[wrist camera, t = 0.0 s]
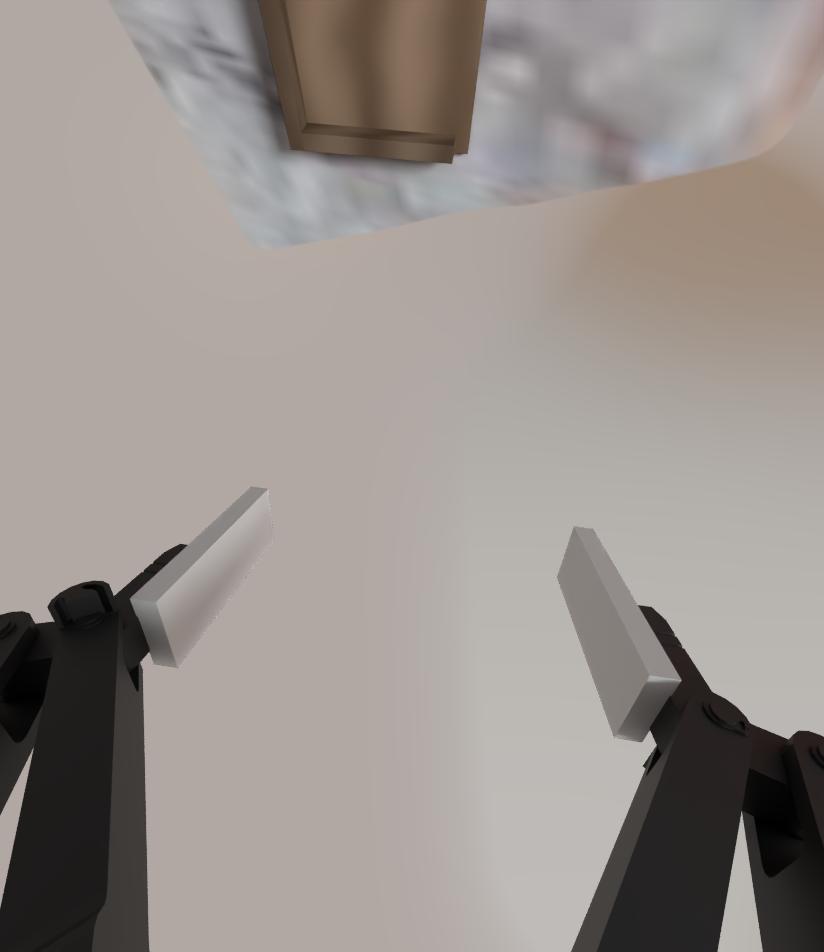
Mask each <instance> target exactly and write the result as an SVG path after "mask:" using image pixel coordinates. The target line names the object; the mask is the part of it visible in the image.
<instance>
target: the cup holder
mask: <svg viewBox="0 0 824 952" xmlns="http://www.w3.org/2000/svg"><path fill="white" fill-rule="evenodd" d="M258 1H259V6H260V11H261V15H262V20H263V24H264V29H265V33H266V38H267V42H268V47H269V51H270V56H271V61H272V65H273V70H274V74H275V79H276V83H277V88H278V92H279V97H280V101H281V106H282V110H283V115H284V120H285V124H286V129H287V133H288V138H289V142H290V147H291V150H302V151H313V152H325V153H336V154H347V155H358V156H370V157H381V158H392V159H403V160H415V161H426V162H437V163H448V164H452V161H453V156H454V153H461V154H468V146H469V138H470V130H471V122H472V114H473V106H474V98H475V90H476V82H477V74H478V66H479V57H480V49H481V41H482V33H483V25H484V17H485V9H486V1H487V0H258Z"/></svg>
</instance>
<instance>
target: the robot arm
mask: <svg viewBox="0 0 824 952" xmlns="http://www.w3.org/2000/svg"><path fill="white" fill-rule="evenodd" d="M273 541H274V533H273V525H272V517H271V509H270V499H269V491H268V489H265V488H257V487H251V488H250V489H249V490H247V491H246V492H245V493H244V494H243V495H242V496H241V497H240V498H239V499H238V500H236V501H235V502H234V503H233V504H232V505H231V506H230V507H229V508H228V509H227V510H226V511H225V512H223V513H222V514H221V515H220V516H219V517H218V518H217V519H216V520H215V521H214V522H213V523H211V524H210V525H209V526H208V527H207V528H206V529H205V530H204V531H203V532H202V533H201V534H199V536H197V537H196V538H195V539H194V540H193V541H192V542H191V543H190V544H189V545H184V544H179V545H177V546H175V547H173V548H172V549H170V550H168V551H166V552H164V553H163V554H162V555H161V556H160V557H159V558H157V559H156V560H155V561H154V562H153V564H151V565H149V566H148V567H147V568H146V569H145V570H144V572H141V573H140V574H139V575H138V576H137V577H136V578H134V579H133V580H132V581H131V582H130V583H129V584H128V585H126V586H125V587H124V588H123V589H122V590H121V591H119V592H118V593H117V594H116V595H115V596H114V595H113V593H112V590H111V588H110V585H109V584H108V583H106V582H104V581H90V582H84V583H80V584H78V585H75V586H72V587H70V588H68V589H66V590H64V591H63V592H61V593H59V594H58V595H57V596H56V597H55V598H54V599H52V600H51V602H50V603H49V605H48V609H49V611H50V613H51V615H52V617H53V619H54V621H55V622H46V623H38V624H35V622H34V621H33V619H32V617H31V615H30V614H29V613H26V612H23V611H20V612H10V613H6V614H2V615H0V815H1V813H2V811H3V808H4V806H5V804H6V802H7V800H8V798H9V796H10V794H11V792H12V790H13V788H14V786H15V784H16V782H17V780H18V778H19V776H20V774H21V772H22V770H23V768H24V766H25V764H26V762H27V760H28V757H29V755H30V753H31V751H32V749H33V747H34V750H33V754H32V760H31V764H30V769H29V774H28V779H27V783H26V788H25V793H24V798H23V802H22V807H21V812H20V817H19V821H18V826H17V831H16V836H15V841H14V845H13V850H12V855H11V860H10V864H9V869H8V874H7V879H6V884H5V888H4V894H3V898H2V903H1V907H0V952H149V936H148V894H147V892H148V890H147V846H146V801H145V757H144V756H145V755H144V710H143V669H142V667H141V664H140V662H141V661H142V659H143V658H144V657H145V656H146V655H147V653H149V652H150V654H151V657H152V660H153V662H154V664H156V665H162V666H168V667H175V668H178V667H179V665H180V664H181V663H182V661H183V660H184V659H185V657H186V656H187V655H188V653H189V652H190V651H191V649H192V648H193V647H194V646H195V644H196V642H198V640H199V639H200V638H201V636H202V635H203V634H204V632H205V631H206V629H207V628H208V627H209V626H210V624H211V623H212V622H213V620H214V619H215V618H216V616H217V615H218V614H219V612H220V611H221V610H222V608H223V607H224V606H225V604H226V603H227V602H228V600H229V599H230V598H231V596H232V595H233V594H234V593H235V591H236V590H237V589H238V587H239V586H240V585H241V583H242V582H243V581H244V579H245V578H246V577H247V575H248V574H249V573H250V571H251V570H252V568H253V567H254V566H255V565H256V563H257V562H258V561H259V559H260V558H261V557H262V555H263V554H264V553H265V551H266V550H267V549H268V548H269V546H270V545H271V544H272V542H273ZM557 578H558V581H559V584H560V587H561V590H562V593H563V595H564V598H565V601H566V604H567V606H568V609H569V612H570V615H571V618H572V621H573V624H574V626H575V629H576V632H577V635H578V638H579V640H580V643H581V646H582V648H583V651H584V654H585V657H586V660H587V663H588V666H589V668H590V671H591V674H592V677H593V679H594V682H595V685H596V688H597V691H598V694H599V696H600V699H601V702H602V705H603V708H604V711H605V713H606V716H607V719H608V722H609V725H610V727H611V730H612V733H613V736H614V738H618V739H624V740H631V741H637V742H642V741H643V740H644V738H645V737H646V735H647V734H648V732H649V731H651V733H652V735H653V738H654V739H655V742H656V744H657V746H656V747H655V749H654V750H653V752H652V753H651V755H650V756H649V758H648V759H647V761H646V762H645V764H644V765H643V767H644V768H646V769H645V772H644V774H643V776H642V779H641V781H640V784H639V786H638V789H637V791H636V794H635V796H634V799H633V801H632V804H631V806H630V808H629V811H628V813H627V816H626V819H625V821H624V823H623V826H622V829H621V831H620V833H619V835H618V838H617V840H616V843H615V845H614V848H613V850H612V853H611V855H610V858H609V860H608V863H607V865H606V868H605V870H604V872H603V875H602V878H601V880H600V882H599V885H598V887H597V890H596V892H595V894H594V897H593V899H592V902H591V904H590V907H589V909H588V912H587V914H586V917H585V919H584V922H583V924H582V926H581V929H580V932H579V934H578V936H577V939H576V941H575V944H574V946H573V949H572V951H571V952H717V950H718V944H719V939H720V932H721V926H722V921H723V916H724V910H725V904H726V898H727V893H728V887H729V881H730V875H731V869H732V864H733V858H734V852H735V846H736V840H737V835H738V829H739V823H740V817H741V811H742V814H743V821H744V828H745V835H746V841H747V848H748V855H749V861H750V868H751V875H752V882H753V888H754V895H755V902H756V908H757V915H758V922H759V928H760V935H761V942H762V948H763V952H824V737H823V736H821V735H818V734H816V733H813V732H810V731H798V732H796V733H795V734H794V735H793V736H792V737H791V738H790V739H789V740H788V739H786V738H783V737H781V736H779V735H776V734H774V733H771V732H769V731H767V730H764V729H762V728H759V727H756V726H754V725H752V724H750V723H749V721H748V719H747V718H746V717H745V715H744V714H742V712H741V711H740V710H739V709H738V708H737V707H736V706H734V705H733V704H732V703H730V702H729V701H728V700H726V699H725V698H723V697H721V696H719V695H717V694H715V693H713V692H712V691H711V690H710V688H709V686H708V685H707V683H706V682H705V680H704V679H703V677H702V675H701V674H700V672H699V671H698V669H697V668H696V666H695V665H694V663H693V662H692V660H691V658H690V657H689V655H688V654H687V652H686V651H685V649H683V648H682V645H681V643H680V642H679V640H678V638H677V637H675V634H674V632H673V631H672V629H671V627H670V626H669V624H668V623H667V621H666V620H665V619H664V618H663V617H662V616H661V615H660V614H659V613H657V612H656V611H655V610H654V609H653V608H652V607H647V606H639V605H637V603H636V602H635V600H634V598H633V596H632V595H631V593H630V591H629V590H628V588H627V586H626V585H625V583H624V581H623V579H622V578H621V576H620V574H619V573H618V571H617V569H616V567H615V566H614V564H613V562H612V560H611V559H610V557H609V555H608V554H607V552H606V550H605V549H604V547H603V545H602V543H601V542H600V540H599V538H598V537H597V535H596V533H595V531H594V530H593V529H591V528H582V527H574V528H573V531H572V534H571V537H570V540H569V543H568V546H567V550H566V552H565V555H564V558H563V561H562V564H561V567H560V570H559V573H558V576H557Z"/></svg>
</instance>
